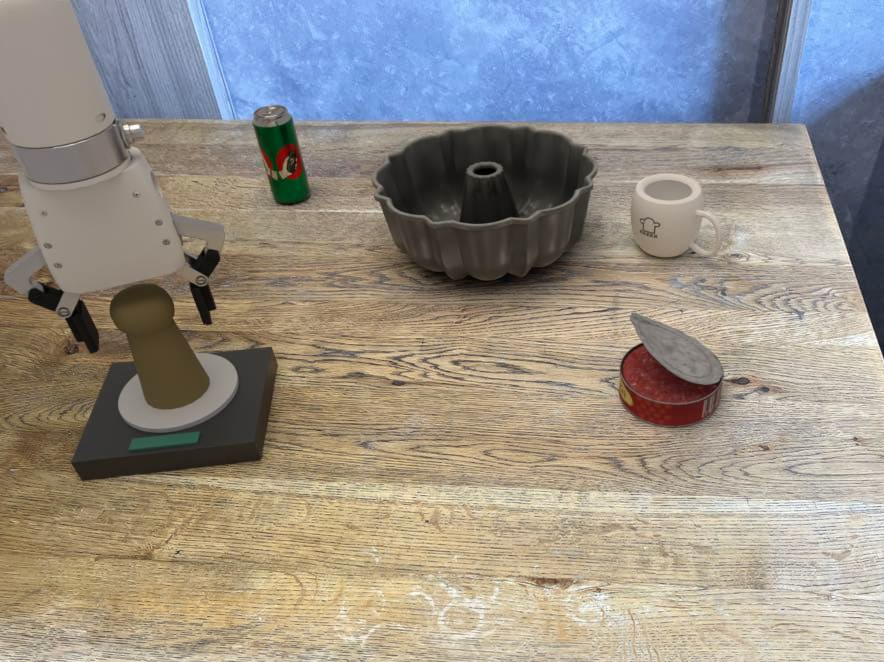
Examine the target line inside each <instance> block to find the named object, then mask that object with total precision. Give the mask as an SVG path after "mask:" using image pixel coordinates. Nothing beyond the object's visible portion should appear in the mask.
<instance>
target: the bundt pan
mask: <svg viewBox="0 0 884 662" xmlns="http://www.w3.org/2000/svg"><path fill="white" fill-rule="evenodd" d="M588 150H589V147H588V145H586V144H582V143H578V142H574V140H573V139H572V138H571V137H570V136H568V135H567V134H565V133H562V132H559V131H557V130H556V131H555V130H551V129H549V130H548V129H538V128H536V127H533V126H532V125H529V124H523V125H520V124H519V125H508V124H501V123H500V124H499V123H483V124H477V125H470V126H467V127H464V128H456V127H455V128H454V127H451V128H450V127H449V128H446V129H444V130H442V131H441V132H439V133H433V134H428V135H424V136H420V137H417V138H414V139H412V140H410V141H408V142H406V143H405V144H404V145H402V146H401V147H400V148H399V150H396V151H393V152H390V153H386V154H385V155H384V156H383V163H382V164H380V165H379V166H377V167H376V168H375V169H374V170H373V172H372V174H371V177H370V178H371V179H370V180H371V183H372V186H373V188H374V189H375V190H374V192H373V199H374V200H375V201H376V202H379V206H380V208H381V211H382V214H383V217H384V219H385V222H386V224H387V228H388V230H389V233H390V235H391V239H392V240H393V243H394V244H395V246H396V248H398V250H400V251H401V252H402V253H404V254H405V255H407V256H409V257H410V258H411V259H412V260H413V261H414V262H415V263H416V264H417V265H419V266H420V267H422V268H424V269H425V270H428V271H432V272H444V273H445V274H446V275H447V277H449V278H450V279H452V280H456V281H458V280H461V279H464V278H465V277H467V276H471V277H472V278H473V279H477V280H480V281H494V280H497V279H500V278H502V277H504V276H505V275H506V274H507V273H508V274H511V275H513V276H515V277H518V278H523V277H525V276H526V275H527V274H528V273H529V271H530V270H531V269H532V268H543V267H546V266H548V265H551V264H553V263H555V261H557V260H558V259H559V258H560V257H561V256H562V255H563V253H565V252H567V251H569V250H570V249H572V248H573V247H575V246H576V245H577V244H578V243H579V241H580V239H582V238H581V237H582V236H583V233H584V229H585V223H586V217H587V215H588V209H589V204H590V198H591V191H592V190H594V182H593V180H594V179H595V177H596V176H597V174H598V168H599V167H598V165H599V164H598V162H597V160H596V159H595V158H594V157H593V156H592V155H591V154H589V153H588V152H589V151H588Z"/></svg>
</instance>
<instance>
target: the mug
mask: <svg viewBox="0 0 884 662" xmlns="http://www.w3.org/2000/svg"><path fill="white" fill-rule="evenodd" d="M704 203H705V201H704V192H703V189H702V187H701V185H700V184H699V182H698V181H696V180H695V179H693V178H691V177H690V176H686V175H683V174H677V173H669V172H668V173H657V174H652V175H649V176H646V177H644V178H642V179H640V180H639V181H638V182H637V184H636V185H635V188H634V189H633V191H632V196H631V201H630V225H631V229H632V233H633V234H632V235H633V236H634V239H635V241H636V244H637V245H638V246H639V248H640V249H641V250H642V251H643V252H645V253H646V254H648V255H650V256H653V257H659V258H673V257H677V256H680V255H682V254H684V253H685V252H687V250H689V249H691V250H693V252H694V253H696V254H698V255H699V256H702V257H707V258H709V257H714V256H715V255H717V253H719V251H720V250H721V247H722V244H723V230H722V226H721V224H720V221H719V220H718V219H717V217H716V216H715V215H714V214H713V213H711V212H710V211H706V210H704ZM703 218H704V219H707V220H708V221H710V223H711V224H712V226H713V227H714V228H713V229H714V231H715V243H714V246H713V248H711V249H710V250H705V249H703V248H701V247H700V246H699V245H698V244H696V243H695V241H696V239H697V236H698V233H699V232H700V228H701V225H702V221H703Z"/></svg>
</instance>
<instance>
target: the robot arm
mask: <svg viewBox="0 0 884 662" xmlns="http://www.w3.org/2000/svg"><path fill="white" fill-rule="evenodd" d="M0 128H1V130H2V132H3V134H4V136H5V138H6V140H7V142H8V144H9V146H10V148H11V150H12V153H13V155H14V157H15V159H16V160H17V162H18V165H19V167H20V168H21V170H20V171H19V172H18V174H17V178H18V186H19V191H20V194H21V199H22V201H23V205H24V208H25V212H26V213H27V214H26V215H27V217H28V221H29V223H30V225H31V228H32V231H33V234H34V236H35V239H36V242H37V244H36V245H35V246H34V247H33V248H31V249H30V250H29V251H28V252H25V254H24V255H23V256H21V257H20V258H19V259H17V260H16V261H14V262H13V263H12V264H11V265H9V267H7V268H6V269H5V270H4V276H3V282H4V284H6V285H7V286H8V287H9V288H11V289H12V290H14V291H15V292H17V293H18V294H20V295H21V296H24V297H26V298H27V299H28V301H29V303H31V304H33V305H35V306H38V307H40V308H44V309H46V310H48V311H52V312H54V313H55V314H56V316H57V317H58V318H60V319H64V320H65V322H66V324H67V325H68V328H69V329H70V332H71V333H72V335H73V337H74V339H75V340H76V342H77V343H82V342H83V343H84V345H85V347H86V349H87V351H88V353H89V354H91V355H92V354H96V353H98V352H99V351H100V333H99V330H98V328H97V326H96V324H95V322H94V320H93V318H92V316H91V314H90V312H89V310H88V308H87V306H86V304H85V302H84V300H83V299H80V298H81V296H82V295H84V294H90V293H94V292H95V293H96V292H99V291H100V292H101V291H104V290H109V289H113V288H118V287H123V286H127V285H133V284H136V283H140V282H145V281H148V280H153V279H157V278H158V279H159V278H162V277H165V276H169V275H172V274H174V275H176V276H178V277H180V278H182V279H184V280H186V281H187V282H189V290H190V293H191V295H192V299H193V301H194V304H195V306H196V309H197V311H198V314H199V317H200V319H201V321H202V324H203V325H205V326H210V325H213V320H212V316H211V312H212V311H216V310H217V305H216V301H215V299H214V295H213V293H212V289H211V288H210V285H209V279H210V277H211V275H212V274H213V272H214V271H215V269H216V268H217V266H218V264H219V263H220V262H221V255H222V252H223V247H224V244H225V239H226V232H225V228H224V226H223V224H221V223H217V222H213V221H208V220H202V219H198V218H193V217H188V216H182V215H177V214H174V213H173V211H172V208H171V206H170V204H169V202H168V199H167V196H166V195H165V192H164V191H163V189H162V186H161V184H160V182H159V180H158V178H157V176H156V174H155V173H154V171H153V169H152V167H151V166H150V164H149V162H148V160H147V159H146V158H145V156H144V155H143V152H141V150H140V149H139V148H137V147H135V146H132V145H135V144H136V142H141V141H145V140H146V139H145V134H144V132H143V129H142V126H141V123H140V122H139V121H138V122H133V123H129V122H123V119H119V118H118V116H117V113H116V112H115V111H114V109H113V106H112V103H111V101H110V99H109V96H108V93H107V91H106V89H105V86H104V83H103V80H102V78H101V76H100V73H99V70H98V68H97V65H96V62H95V60H94V58H93V55H92V52H91V50H90V47H89V45H88V43H87V40H86V38H85V34H84V32H83V30H82V27H81V25H80V22H79V20H78V17H77V15H76V11H75V10H74V7H73V4H72V2H71V0H0ZM183 237H186V238H192V239H197V240H201V241H202V240H203V241H205V245H204V247H203V248H202V250H201V252H200V253H199V254H198V256H195V255H194V254H192V253H190V252H188V251H186V250H185V249H183V246H184V239H183ZM45 266H47V268H48V270H49V272H50V274H51V277H52V279H53V280H54V282H55V283H56V285H57V286H58V288H56V287H53V286H50V285H47V284H45V283H43V282H39V281H36V279H35V278H33V276H34V275H35V274H36V273H38V272H39V271H40V270H42V269H43V268H44V267H45Z"/></svg>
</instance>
